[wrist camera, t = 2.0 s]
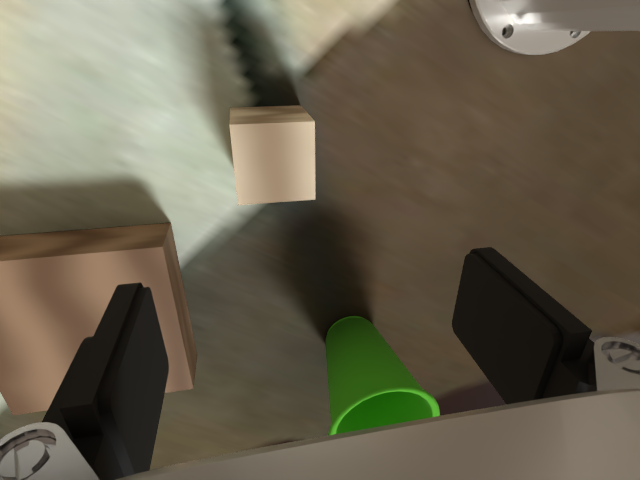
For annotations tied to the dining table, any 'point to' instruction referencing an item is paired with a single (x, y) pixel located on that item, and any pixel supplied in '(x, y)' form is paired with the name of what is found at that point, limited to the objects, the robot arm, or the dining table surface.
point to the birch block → (273, 154)
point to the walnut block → (82, 303)
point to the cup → (370, 380)
